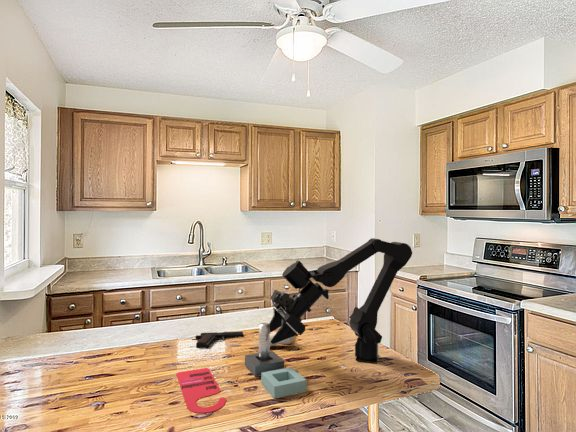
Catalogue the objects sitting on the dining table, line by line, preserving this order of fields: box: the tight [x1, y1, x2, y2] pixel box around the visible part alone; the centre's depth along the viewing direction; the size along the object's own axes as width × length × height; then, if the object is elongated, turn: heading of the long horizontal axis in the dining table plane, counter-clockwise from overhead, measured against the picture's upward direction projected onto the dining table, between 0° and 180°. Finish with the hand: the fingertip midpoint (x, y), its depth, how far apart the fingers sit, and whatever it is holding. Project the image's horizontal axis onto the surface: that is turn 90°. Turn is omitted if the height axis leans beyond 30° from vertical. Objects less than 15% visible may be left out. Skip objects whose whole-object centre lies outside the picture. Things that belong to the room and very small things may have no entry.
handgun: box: [194, 331, 244, 349], centre depth 137 cm, size 2×17×12 cm
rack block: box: [260, 366, 307, 399], centre depth 101 cm, size 9×9×3 cm
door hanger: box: [175, 367, 227, 414], centre depth 100 cm, size 9×1×25 cm
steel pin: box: [258, 322, 271, 362], centre depth 114 cm, size 3×3×13 cm
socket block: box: [244, 350, 285, 378], centre depth 114 cm, size 9×9×3 cm
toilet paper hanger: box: [270, 327, 296, 347], centre depth 140 cm, size 21×11×7 cm, turn 175°
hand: (268, 337), depth 114 cm, fingers open, 9 cm apart
